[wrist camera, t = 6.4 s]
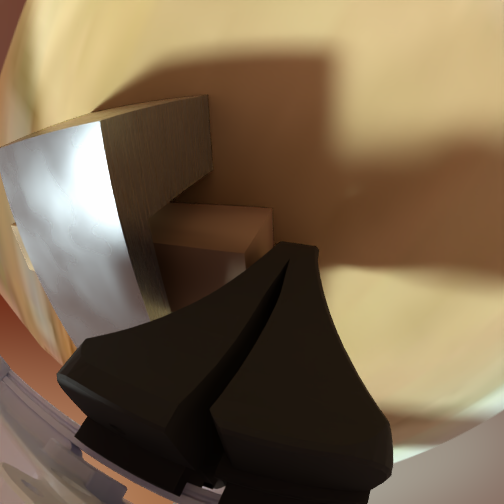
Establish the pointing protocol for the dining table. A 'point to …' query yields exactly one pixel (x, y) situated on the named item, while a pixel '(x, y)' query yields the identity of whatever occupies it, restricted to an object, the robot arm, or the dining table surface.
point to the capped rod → (202, 246)
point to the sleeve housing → (104, 206)
